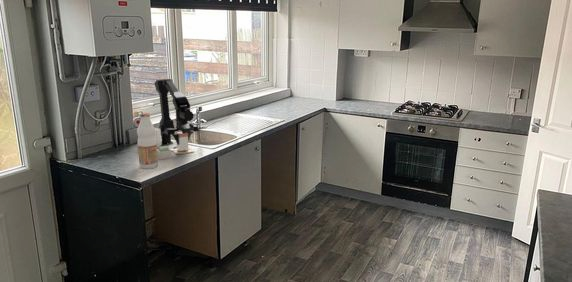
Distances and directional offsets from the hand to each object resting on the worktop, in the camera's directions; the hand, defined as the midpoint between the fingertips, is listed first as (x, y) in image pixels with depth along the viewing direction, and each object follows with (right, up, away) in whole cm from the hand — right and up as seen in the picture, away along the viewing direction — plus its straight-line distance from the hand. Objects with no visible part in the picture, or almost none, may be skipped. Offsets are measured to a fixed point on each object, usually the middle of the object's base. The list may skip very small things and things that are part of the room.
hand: (182, 144), depth 249 cm
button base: (-8, -7, -8) cm, 14 cm away
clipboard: (-1, -4, +3) cm, 5 cm away
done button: (-8, -4, -9) cm, 13 cm away
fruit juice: (-12, -12, -24) cm, 29 cm away
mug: (-19, -2, +11) cm, 22 cm away
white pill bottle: (0, -3, +1) cm, 3 cm away
